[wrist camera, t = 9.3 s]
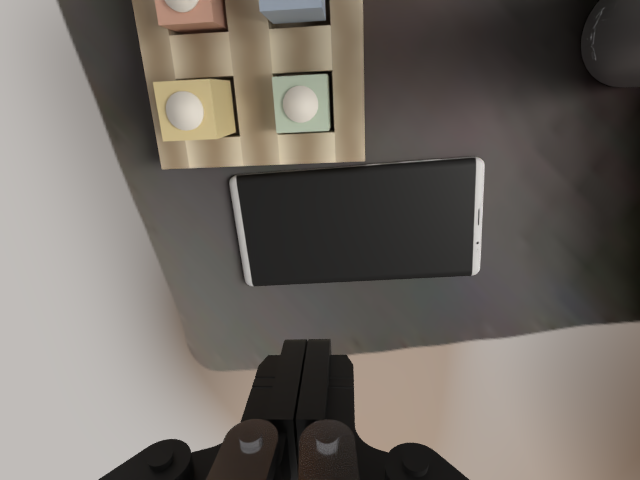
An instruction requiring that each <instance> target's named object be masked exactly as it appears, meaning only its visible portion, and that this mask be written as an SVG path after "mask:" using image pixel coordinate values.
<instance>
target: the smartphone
mask: <svg viewBox="0 0 640 480" xmlns="http://www.w3.org/2000/svg"><path fill="white" fill-rule="evenodd" d="M484 167H485V165H484V162H483V160H482V159H480V158H478V157H461V158H448V159H431V160H422V161H405V162H395V163H382V164H367V165H356V166H342V167H329V168H316V169H303V170H290V171H277V172H264V173H251V174H238V175H235V176H233V177H232V178H231V179H230V182H229V186H230V192H231V198H232V204H233V210H234V216H235V223H236V229H237V235H238V241H239V247H240V253H241V260H242V266H243V272H244V278H245V282H246V283H247V284H248V285H250V286H268V285H289V284H309V283H330V282H350V281H371V280H391V279H412V278H432V277H453V276H472V275H475V274H477V273H478V272H479V270H480V258H481V236H482V213H483V190H484Z"/></svg>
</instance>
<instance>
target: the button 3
mask: <svg viewBox="0 0 640 480" xmlns="http://www.w3.org/2000/svg"><path fill="white" fill-rule="evenodd" d="M259 9H260V12H261V13H262V14H263V15H264V16H265V17H266V18H267V19H268V20H269V21H271V22H272V23H273V24H281V23H297V22H312V21H326V10H325V0H259Z"/></svg>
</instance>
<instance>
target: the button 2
mask: <svg viewBox="0 0 640 480" xmlns="http://www.w3.org/2000/svg"><path fill="white" fill-rule="evenodd" d="M153 87H154V92H155V98H156V104H157V110H158V115H159V121H160V127H161V133H162V139H163V141H186V140H208V139H219V138H222V137H224V136H227V135H230V134H233V133H235V132H236V128H235V119H234V111H233V102H232V93H231V84H230V81H228V80H217V79H197V80H179V81H162V82H153Z"/></svg>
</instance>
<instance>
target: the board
mask: <svg viewBox="0 0 640 480" xmlns="http://www.w3.org/2000/svg"><path fill="white" fill-rule="evenodd" d="M132 4H133V10H134V15H135V21H136V27H137V32H138V38H139V43H140V49H141V55H142V60H143V66H144V72H145V77H146V83H147V88H148V94H149V100H150V105H151V111H152V117H153V122H154V128H155V134H156V139H157V145H158V150H159V156H160V162H161V167H162V169H182V168H207V167H232V166H257V165H282V164H307V163H332V162H357V161H365V121H364V44H363V0H325V10H326V21H312V22H297V23H281V24H273V23H272V22H271V21H269V20H268V19H267V18H266V17H265V16H264V15H263V14H262V13H261V12H260V9H259V0H225V6H226V15H227V24H228V32H216V33H201V34H185V35H184V34H182V33H179V32H176V31H173V30H170V29H167V28H165V27H162V26H159V25H158V19H157V12H156V6H155V0H132ZM315 74H327V75H328V76H329V79H330V105H331V127H330V129H329V131H314V132H292V133H276V121H275V109H274V97H273V85H272V77H280V76H298V75H315ZM197 79H217V80H228V81H230V84H231V93H232V102H233V111H234V119H235V128H236V132H235V133H233V134H230V135H227V136H224V137H222V138H219V139H208V140H186V141H163V139H162V133H161V127H160V121H159V115H158V110H157V104H156V98H155V92H154V87H153V82H162V81H179V80H197Z"/></svg>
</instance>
